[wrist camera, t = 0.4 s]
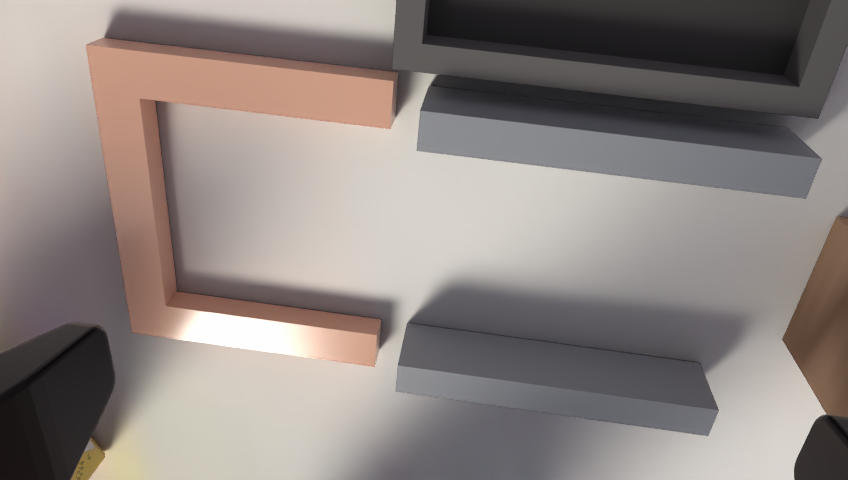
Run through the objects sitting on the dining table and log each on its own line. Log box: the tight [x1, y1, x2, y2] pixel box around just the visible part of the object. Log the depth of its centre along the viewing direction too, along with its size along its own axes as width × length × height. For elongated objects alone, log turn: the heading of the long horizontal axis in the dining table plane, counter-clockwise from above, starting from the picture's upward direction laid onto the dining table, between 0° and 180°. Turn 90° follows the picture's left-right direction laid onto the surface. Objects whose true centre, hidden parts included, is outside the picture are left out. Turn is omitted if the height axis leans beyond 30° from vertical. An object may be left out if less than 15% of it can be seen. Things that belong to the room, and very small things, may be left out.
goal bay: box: [86, 38, 398, 367], centre depth 23 cm, size 11×10×1 cm
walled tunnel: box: [396, 86, 822, 436], centre depth 22 cm, size 10×11×2 cm
